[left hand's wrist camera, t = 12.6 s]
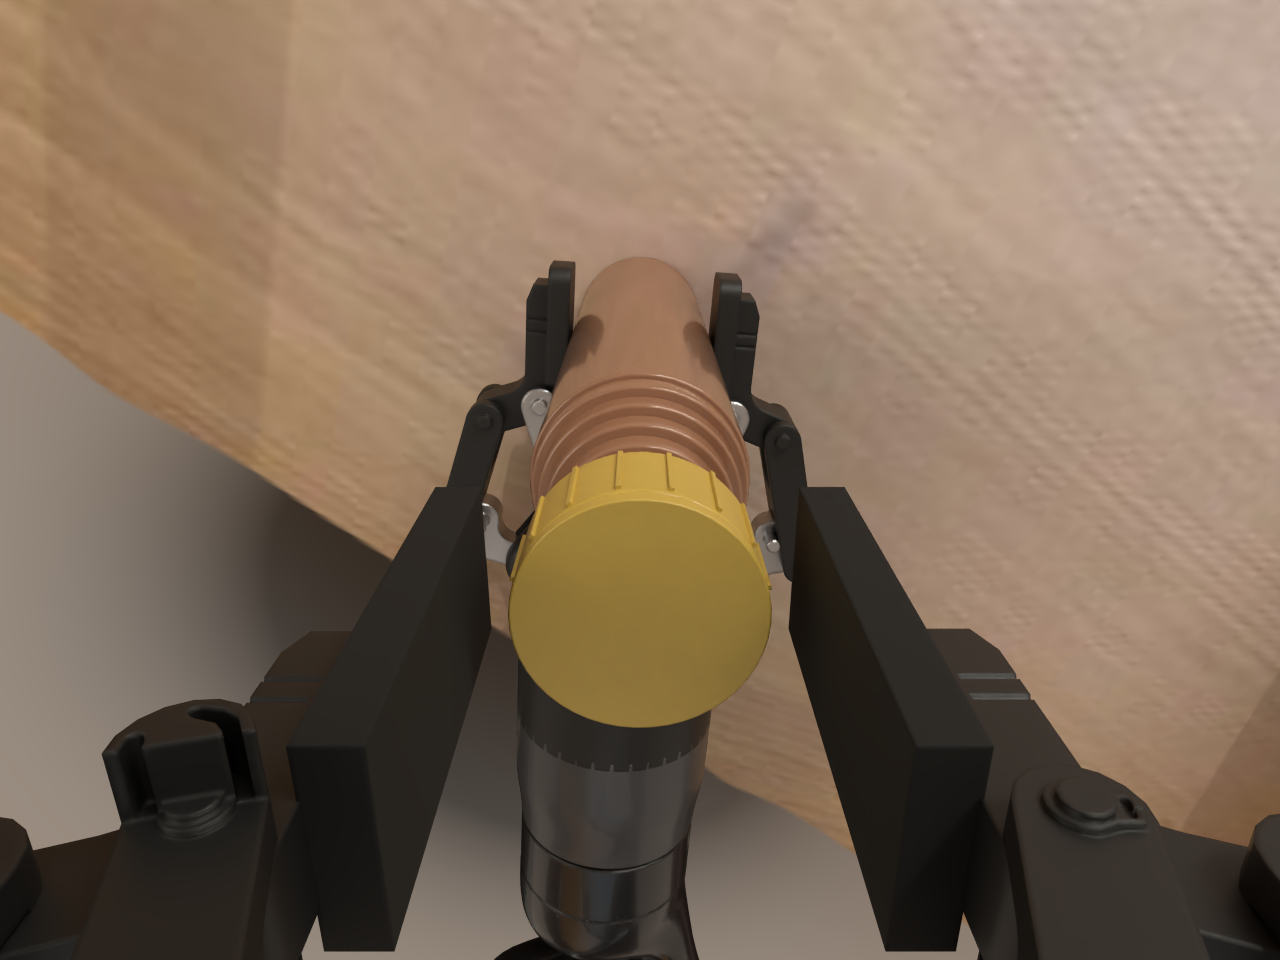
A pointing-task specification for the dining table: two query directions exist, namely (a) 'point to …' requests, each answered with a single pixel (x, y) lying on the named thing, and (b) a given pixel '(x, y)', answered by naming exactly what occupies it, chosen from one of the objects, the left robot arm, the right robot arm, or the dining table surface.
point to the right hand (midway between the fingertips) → (644, 272)
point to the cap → (639, 592)
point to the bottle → (639, 382)
